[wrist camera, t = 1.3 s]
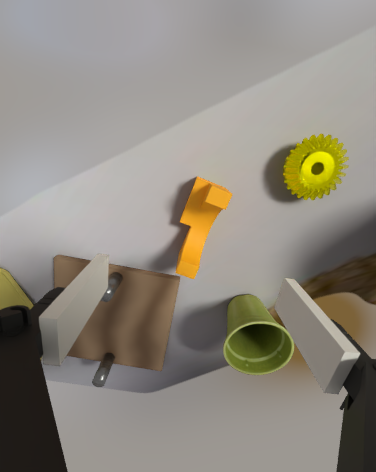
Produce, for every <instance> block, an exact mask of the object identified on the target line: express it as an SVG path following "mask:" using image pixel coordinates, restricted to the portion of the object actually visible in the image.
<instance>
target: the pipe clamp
mask: <svg viewBox="0 0 376 472" xmlns="http://www.w3.org/2000/svg"><path fill="white" fill-rule="evenodd" d="M231 197H232V193H231V192H229V191H228V190H227V189H226V188H224V187H222V186H219V185H217V184H215V183H212V182H210V181H207V180H205V179H202V178H200V177H197V178H196V180H195V183H194V185H193V188H192V191H191V193H190V196H189V198H188V201H187V203H186V206H185V209H184V211H183V214H182V216H181V219H180V222H181V223H184V224H187V225H189V226H190V228H189V230H188V232H187V235H186V237H185V240H184V242H183V245H182V247H181V249H180V252H179V256H178V261H177V267H176V273H178V274H180V275H183V276H186V277H189V278H191V279H194V278H195V276H196V273H197V271H198V269H199V264H200V258H201V253H202V250H203V246H204V243H205V240H206V238H207V235H208V233H209V230H210V228H211V226H212V224H213V222H214V220H215V219H216V217H217V215H218V214H219V213H220V211H221V210H223V209H225V210H226V208H227V205H228V203H229V201H230V199H231Z"/></svg>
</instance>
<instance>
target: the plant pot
mask: <svg viewBox="0 0 376 472" xmlns="http://www.w3.org/2000/svg"><path fill="white" fill-rule="evenodd" d="M293 352H294V341H293V339H292V337H291V336H290V334H289V332H288V331H287V330H286V329H285V328H284V327H282V326H281V325H279V324H278V323H277V322H276V321H275V320H274V319H273V317H272V316H271V314H270V313H269V312H268V310H267V309H266V307H265V306H264V305H263V303H262V302H261V301H260V299H258V298H257V297H256V296H253V295H249V294H247V295H242V296H237V297H235V298H233V299H232V300H231V301H230V303H229V305H228V308H227V336H226V339H225V342H224V346H223V353H224V357H225V359H226V361H227V362H228V364H229V365H230V366H231V367H232V368H234V369H236V370H238V371H239V372H242V373H245V374H251V375H264V374H269V373H272V372H274V371H277V370H279V369H280V368H282V367H283V366H285V365H286V364H287V363H288V362H289V360H290V359H291V357H292V355H293Z"/></svg>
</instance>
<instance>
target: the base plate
mask: <svg viewBox="0 0 376 472" xmlns="http://www.w3.org/2000/svg"><path fill="white" fill-rule="evenodd" d="M90 262H91V261H90V260H85V259H79V258H74V257H68V256H63V255H57V256H56V257H54V289H55V288H57V287H64V288H66V287H67V286H68V285H69V284H70V283H71V282H72V281H73V280H74V279H75V278H76V277H77V276H78V275H79V274H80V272H81V271H82V270H83V269H84V268H85V267H86V266H87V265H88V264H89V263H90ZM113 272H119V273H120V274H121V275H122V276H123V280H122V282H121V283H120V285H119V287H118V288H117V290H116V292H115V293H114V295H113V297H112V298H111V300H110V301H108V302H103V301H101V300H100V301H99V303H98V305H97V306H96V308H95V310H94V311H93V313H92V315H91V316H90V318H89V319H88V321H87V323H86V324H85V326H84V328H83V329H82V331H81V332H80V334H79V336H78V337H77V339H76V341H75V342H74V344H73V346H72V347H71V349H70V350H69V352H68V354H67V355H66V356H71V357H77V358H84V359H90V360H96V361H102V359H103V357H104V355H105V354H106V353H112V354H114V356H115V359H114V362H113V363H114V364H120V365H126V366H132V367H138V368H145V369H151V370H157V371H162V367H163V362H164V357H165V352H166V347H167V342H168V337H169V332H170V327H171V322H172V317H173V312H174V307H175V302H176V297H177V292H178V287H179V282H180V277H179V276H174V275H168V274H163V273H157V272H152V271H146V270H140V269H135V268H129V267H124V266H118V265H113V264H109V266H108V278H109V277H110V275H111V274H112V273H113Z"/></svg>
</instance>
